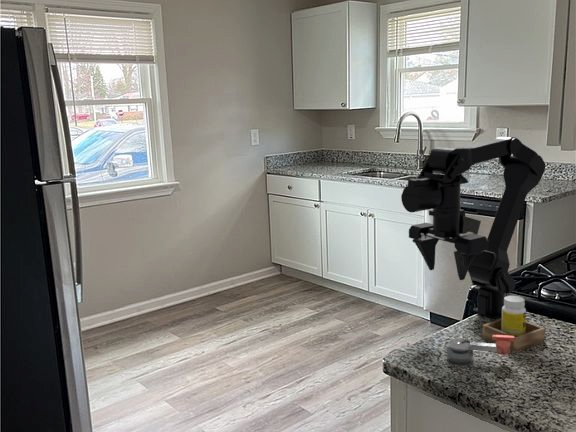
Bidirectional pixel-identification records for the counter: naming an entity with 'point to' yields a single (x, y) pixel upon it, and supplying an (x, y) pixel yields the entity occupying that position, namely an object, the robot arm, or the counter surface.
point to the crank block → (459, 357)
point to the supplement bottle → (513, 316)
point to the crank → (483, 345)
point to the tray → (527, 340)
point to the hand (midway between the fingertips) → (446, 274)
